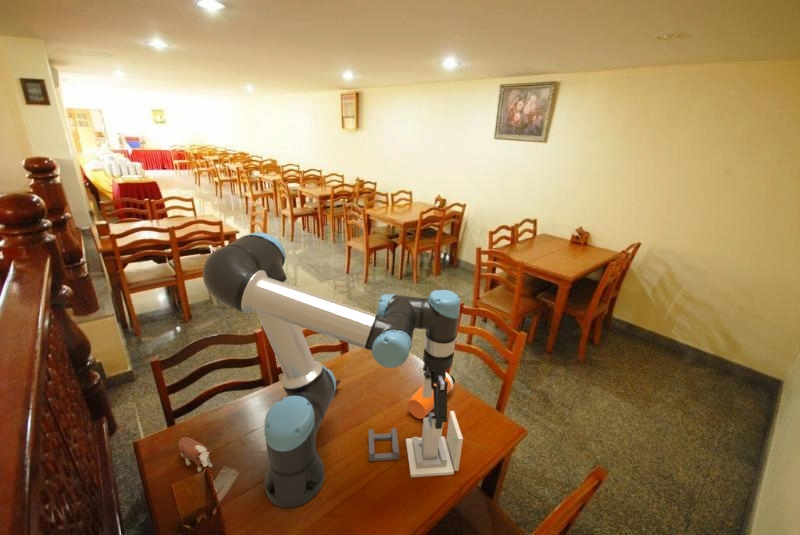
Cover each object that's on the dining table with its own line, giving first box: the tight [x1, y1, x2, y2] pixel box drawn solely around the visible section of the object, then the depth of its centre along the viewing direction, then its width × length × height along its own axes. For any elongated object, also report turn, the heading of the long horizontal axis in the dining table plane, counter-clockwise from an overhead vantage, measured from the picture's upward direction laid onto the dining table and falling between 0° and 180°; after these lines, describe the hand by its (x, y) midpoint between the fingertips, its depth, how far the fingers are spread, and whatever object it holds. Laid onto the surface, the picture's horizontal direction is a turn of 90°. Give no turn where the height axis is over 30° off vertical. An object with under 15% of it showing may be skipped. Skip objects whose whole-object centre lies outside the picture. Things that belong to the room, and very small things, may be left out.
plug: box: [421, 411, 440, 460], centre depth 99 cm, size 4×4×14 cm
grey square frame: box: [368, 427, 400, 462], centre depth 104 cm, size 8×8×3 cm
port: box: [405, 410, 464, 478], centre depth 100 cm, size 14×12×12 cm
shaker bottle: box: [407, 371, 456, 420], centre depth 121 cm, size 9×9×20 cm
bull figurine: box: [177, 436, 214, 473], centre depth 95 cm, size 4×13×8 cm, turn 58°
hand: (431, 414), depth 96 cm, fingers open, 13 cm apart
